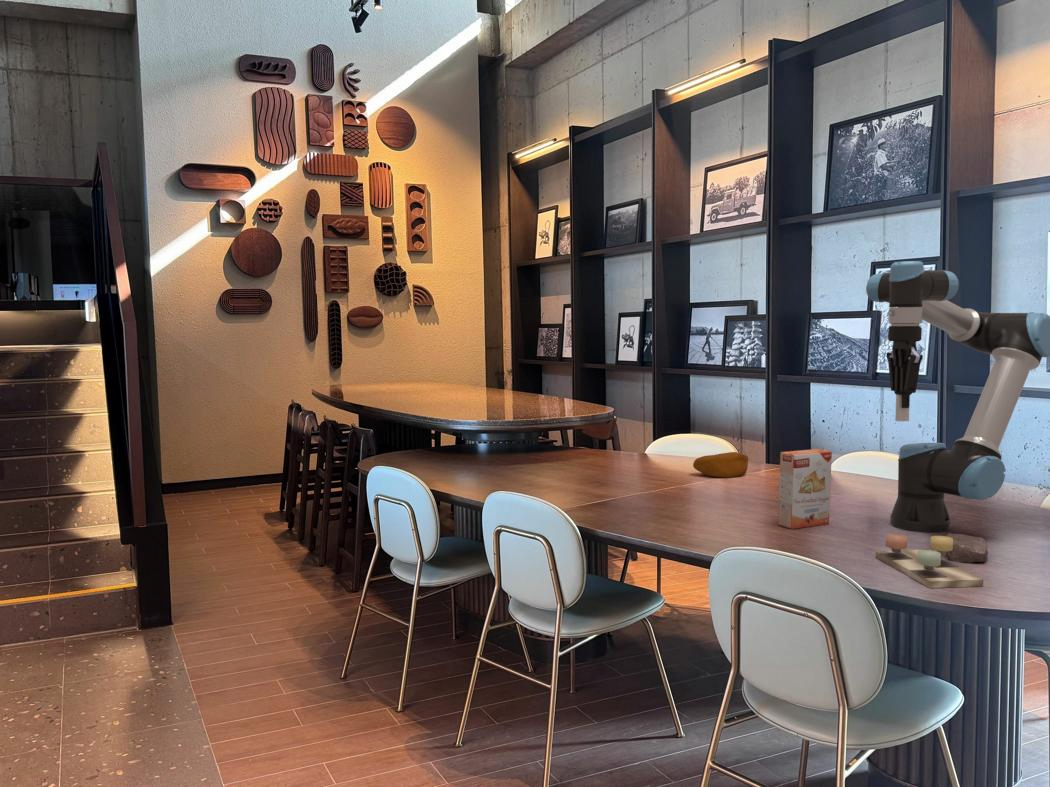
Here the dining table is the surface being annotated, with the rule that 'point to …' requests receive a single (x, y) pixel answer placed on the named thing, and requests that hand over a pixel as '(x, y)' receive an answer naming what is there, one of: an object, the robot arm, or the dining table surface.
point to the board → (936, 578)
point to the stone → (967, 549)
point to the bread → (722, 464)
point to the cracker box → (804, 488)
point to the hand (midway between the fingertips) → (902, 420)
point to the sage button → (929, 559)
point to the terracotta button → (896, 542)
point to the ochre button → (941, 544)
